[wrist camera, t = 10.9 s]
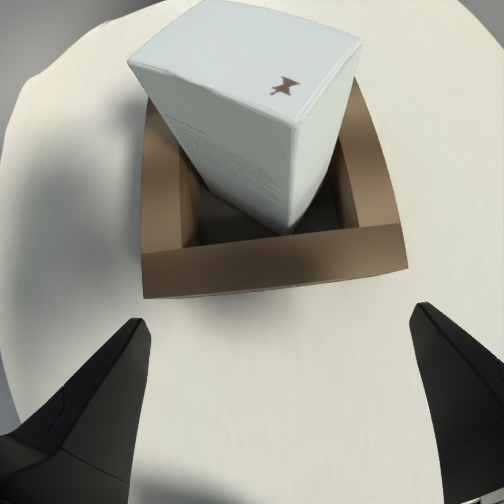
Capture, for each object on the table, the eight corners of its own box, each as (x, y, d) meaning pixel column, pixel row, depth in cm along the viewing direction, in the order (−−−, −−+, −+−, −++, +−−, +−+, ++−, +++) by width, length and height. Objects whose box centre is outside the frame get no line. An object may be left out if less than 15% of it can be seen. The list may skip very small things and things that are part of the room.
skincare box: (323, 187, 17) (371, 40, 6) (287, 242, 17) (299, 133, 5) (245, 143, 18) (206, -6, 7) (208, 192, 18) (118, 63, 6)
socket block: (376, 275, 17) (408, 268, 12) (178, 298, 18) (143, 298, 13) (338, 107, 19) (348, 64, 14) (173, 128, 20) (149, 91, 15)
